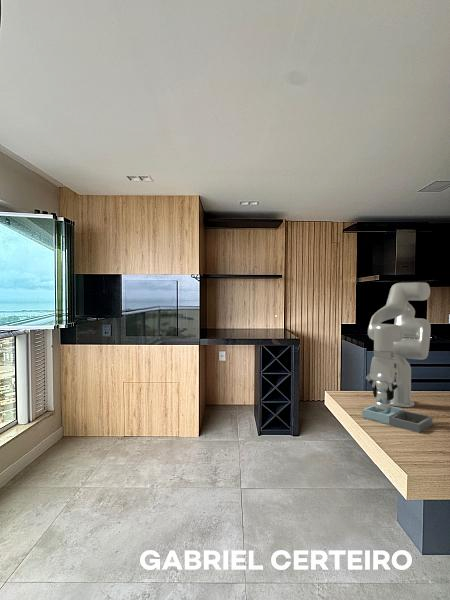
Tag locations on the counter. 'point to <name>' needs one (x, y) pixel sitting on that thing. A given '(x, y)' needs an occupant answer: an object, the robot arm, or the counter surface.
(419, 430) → the bin
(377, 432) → the counter surface
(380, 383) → the plastic bottle
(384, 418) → the bin
